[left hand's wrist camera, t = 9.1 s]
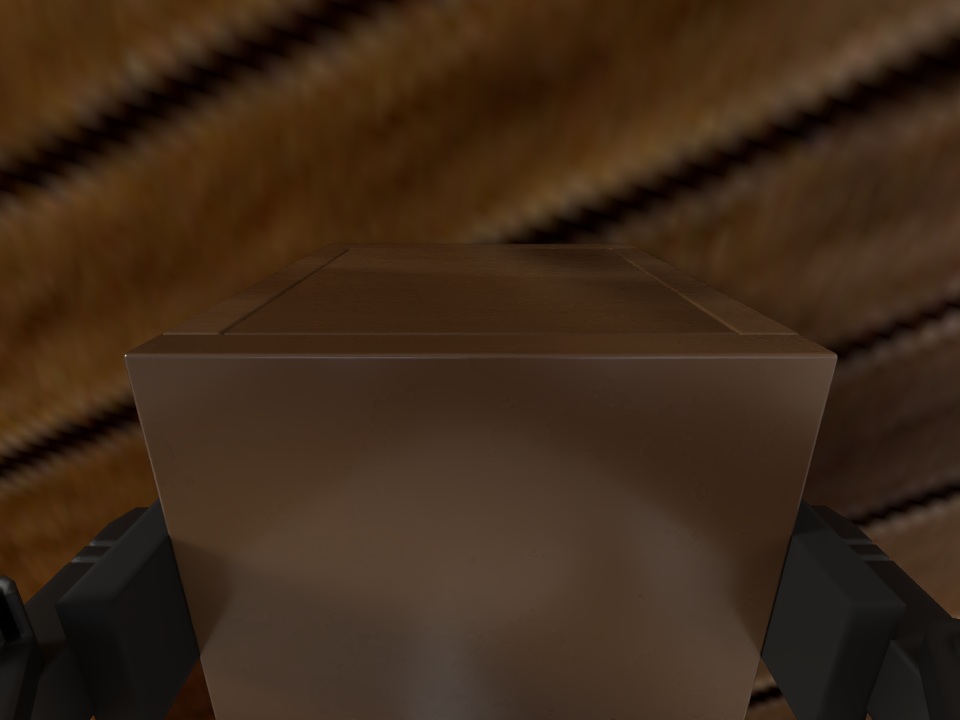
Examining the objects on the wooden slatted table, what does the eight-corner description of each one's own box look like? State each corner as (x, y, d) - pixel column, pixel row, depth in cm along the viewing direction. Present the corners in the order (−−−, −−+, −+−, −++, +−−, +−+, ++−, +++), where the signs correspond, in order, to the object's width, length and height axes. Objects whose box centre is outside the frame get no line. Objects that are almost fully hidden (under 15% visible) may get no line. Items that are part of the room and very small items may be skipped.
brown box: (591, 642, 24) (674, 998, 14) (368, 641, 24) (285, 998, 14) (631, 243, 18) (841, 354, 7) (328, 243, 18) (120, 353, 7)
